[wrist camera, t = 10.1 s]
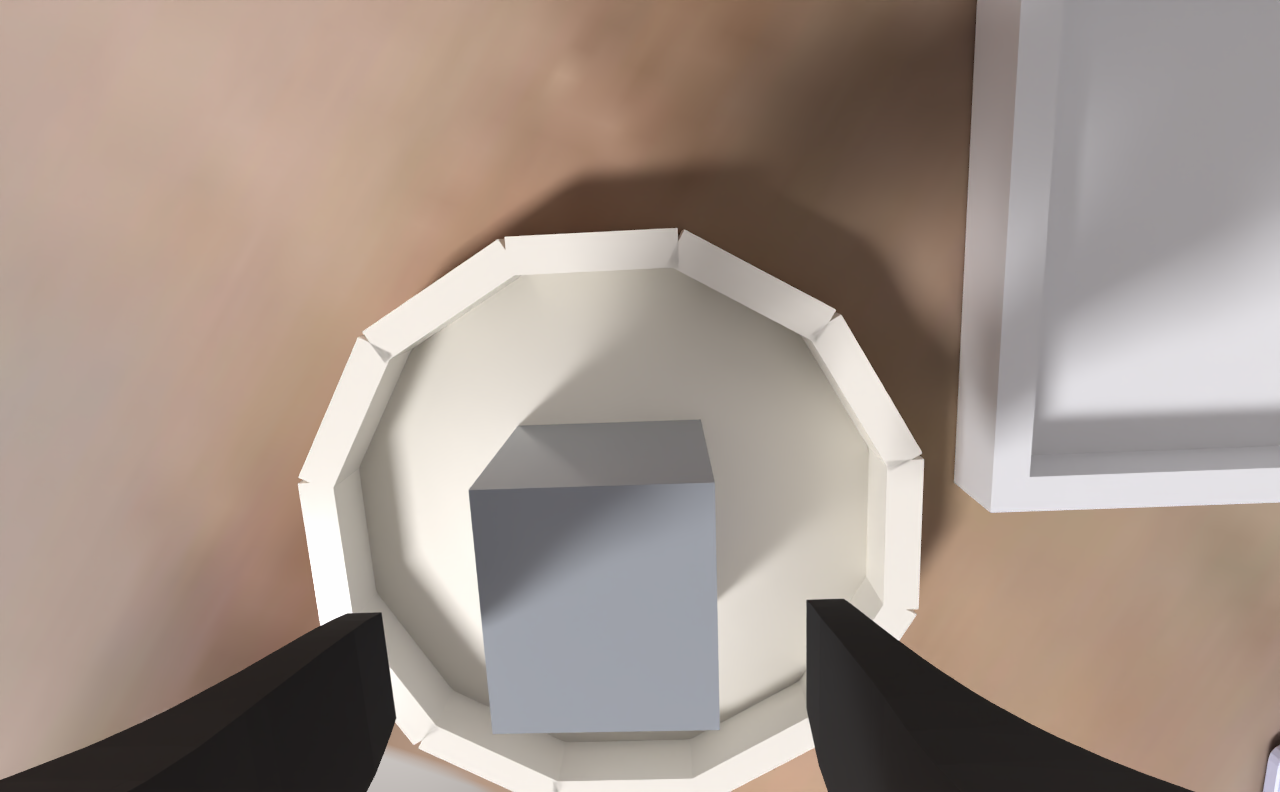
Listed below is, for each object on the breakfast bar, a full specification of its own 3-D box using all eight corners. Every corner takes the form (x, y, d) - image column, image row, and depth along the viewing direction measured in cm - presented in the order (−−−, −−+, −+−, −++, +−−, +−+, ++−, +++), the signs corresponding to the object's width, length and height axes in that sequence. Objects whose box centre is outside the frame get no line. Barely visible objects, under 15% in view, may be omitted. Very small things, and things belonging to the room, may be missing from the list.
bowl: (885, 744, 19) (910, 801, 17) (381, 757, 20) (351, 813, 18) (900, 217, 16) (933, 215, 14) (306, 248, 17) (260, 249, 15)
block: (705, 610, 18) (720, 729, 14) (533, 614, 18) (492, 733, 14) (701, 419, 17) (714, 482, 12) (518, 425, 17) (468, 490, 13)
